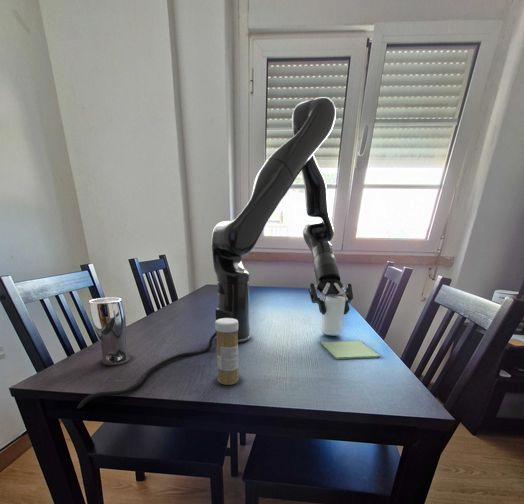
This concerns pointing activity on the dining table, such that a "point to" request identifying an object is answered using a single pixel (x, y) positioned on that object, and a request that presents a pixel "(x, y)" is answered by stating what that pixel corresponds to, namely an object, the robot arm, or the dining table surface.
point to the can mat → (349, 350)
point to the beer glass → (110, 329)
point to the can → (333, 314)
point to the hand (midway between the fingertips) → (335, 313)
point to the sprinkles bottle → (227, 350)
